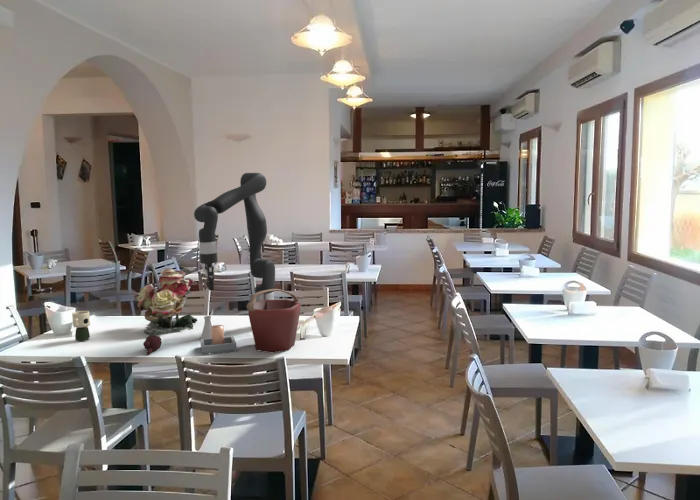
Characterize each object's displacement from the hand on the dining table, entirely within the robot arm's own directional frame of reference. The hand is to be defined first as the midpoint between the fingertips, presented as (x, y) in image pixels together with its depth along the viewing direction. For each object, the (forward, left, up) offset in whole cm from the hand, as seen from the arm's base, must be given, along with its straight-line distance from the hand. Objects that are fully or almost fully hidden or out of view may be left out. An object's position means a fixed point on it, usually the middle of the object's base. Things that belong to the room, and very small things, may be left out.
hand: (210, 288), depth 252 cm
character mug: (+56, -24, -25) cm, 66 cm away
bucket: (-25, +16, -25) cm, 38 cm away
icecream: (+25, +4, -25) cm, 35 cm away
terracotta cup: (-2, +12, -24) cm, 26 cm away
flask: (+1, -8, -25) cm, 26 cm away
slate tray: (-2, +12, -25) cm, 27 cm away
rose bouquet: (+19, -32, -25) cm, 45 cm away
